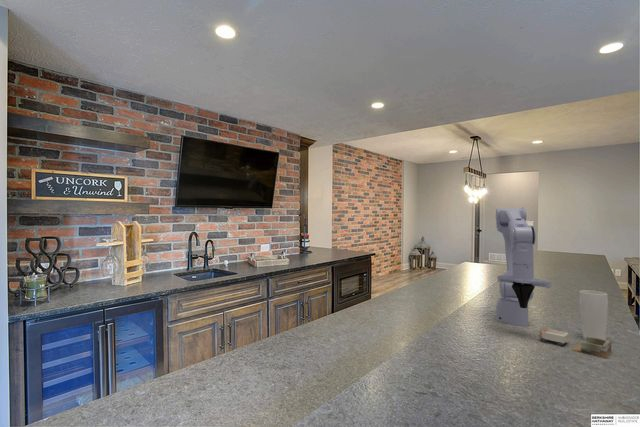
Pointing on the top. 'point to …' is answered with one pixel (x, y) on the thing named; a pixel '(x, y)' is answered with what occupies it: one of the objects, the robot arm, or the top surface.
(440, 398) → the top surface
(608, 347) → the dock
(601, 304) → the drinking glass
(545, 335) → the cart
